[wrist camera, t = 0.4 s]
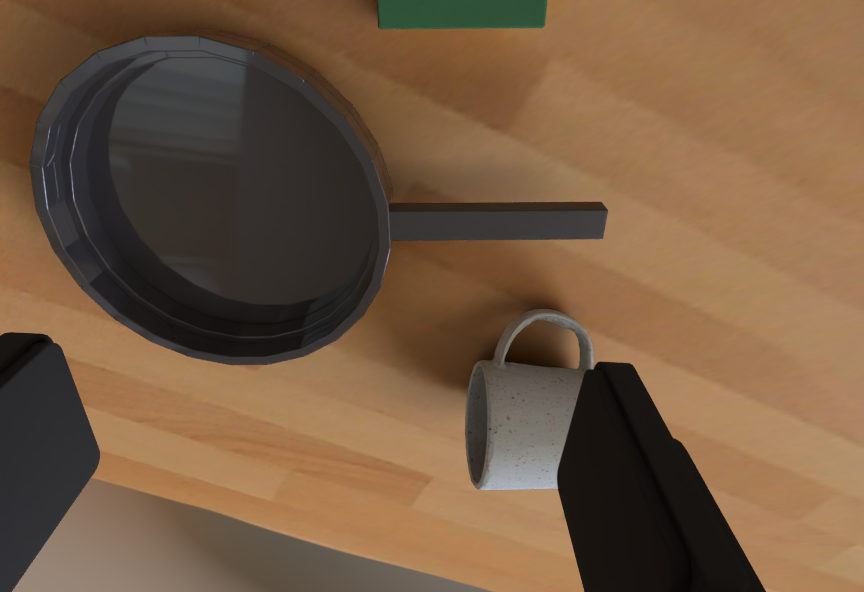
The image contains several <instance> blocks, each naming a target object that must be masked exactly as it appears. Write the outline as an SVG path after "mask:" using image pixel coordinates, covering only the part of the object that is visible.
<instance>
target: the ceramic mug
mask: <svg viewBox="0 0 864 592" xmlns="http://www.w3.org/2000/svg"><path fill="white" fill-rule="evenodd" d="M537 319H539V320H544V321H549V322H553V323H556V324H558V325H559V326H560V327H561V328H568V329H570V330H572V331H573V332H575V334H576V336H577V337H578V340H579V347H580V364H579V368H578V369H567V368H560V367H540V366H534V365H527V364H519V363H514V362H504V359H505V356H506V354H507V352H508V349H509V347H510V345H511V343H512V341H513V339H514V338H515V336H516V335H517V334H518V333H519V332H520V331H521V330H522V329H523V328H524V327H526V326H528V325H529V324H530V323H531V322H532V321H535V320H537ZM593 356H594V351H593V347H592V343H591V339H590V337H589V335H588V334H587V332H586V331H585V329H584V328H583V326H582V325H581V324H580V323H579V322H577V321H576V320H575V319H573V318H572V317H570V316H568V315H566V314H564V313H562V312H559V311H555V310H551V309H533V310H530V311H526V312H524V313H522V314H520V315H519V316H518V317H516V318H515V319H514V320H512V321H511V322H510V323H509V325H508V326H507V327H506V329H505V330H504V332H503V333H502V335H501V337H500V339H499V342H498V345H497V347H496V350H495V354H494V358H493V359H492V360H480V361H478V362H477V363H476V364H475V366H474V368H473V371H472V375H471V378H470V381H469V387H468V394H467V402H466V417H465V437H466V452H467V453H466V455H467V462H468V469H469V474H470V478H471V481H472V483H473V485H474V486H475V487H476V488H477V489H479V490H502V489H558V486H557V471H558V466H559V463H560V459H561V456H562V452H563V448H564V445H565V441H566V437H567V434H568V430H569V427H570V423H571V419H572V416H573V412H574V409H575V405H576V401H577V398H578V394H579V391H580V387H581V383H582V380H583V376H584V373H585V371H586V370H588V369H593V363H594V357H593Z"/></svg>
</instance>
